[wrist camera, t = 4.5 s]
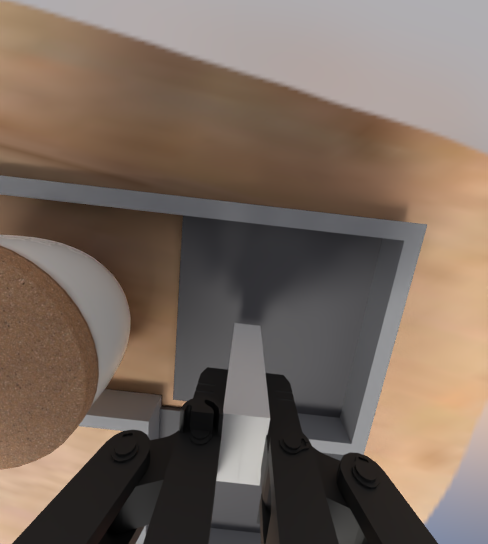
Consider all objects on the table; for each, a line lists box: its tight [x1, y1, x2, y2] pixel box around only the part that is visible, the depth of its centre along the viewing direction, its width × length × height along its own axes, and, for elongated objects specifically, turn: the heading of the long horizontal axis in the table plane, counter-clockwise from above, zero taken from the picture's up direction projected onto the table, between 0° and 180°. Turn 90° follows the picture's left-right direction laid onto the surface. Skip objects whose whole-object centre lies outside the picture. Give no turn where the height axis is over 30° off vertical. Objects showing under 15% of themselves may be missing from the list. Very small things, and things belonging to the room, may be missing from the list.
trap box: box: [0, 175, 427, 544], centre depth 17 cm, size 45×29×4 cm, turn 84°
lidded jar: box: [0, 235, 131, 469], centre depth 13 cm, size 11×11×9 cm
